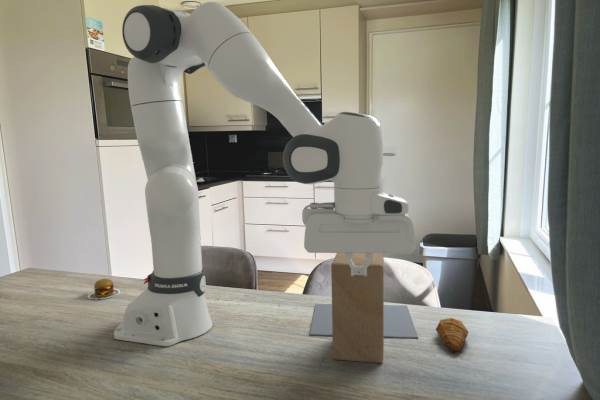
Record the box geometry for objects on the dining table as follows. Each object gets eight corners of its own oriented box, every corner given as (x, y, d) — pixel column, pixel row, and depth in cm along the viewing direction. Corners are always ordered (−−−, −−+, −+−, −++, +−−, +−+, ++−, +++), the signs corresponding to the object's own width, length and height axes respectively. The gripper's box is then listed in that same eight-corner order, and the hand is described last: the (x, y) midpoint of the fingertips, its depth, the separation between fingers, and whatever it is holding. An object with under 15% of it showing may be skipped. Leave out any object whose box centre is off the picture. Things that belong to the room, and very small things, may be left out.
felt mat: (309, 335, 94) (309, 334, 94) (316, 304, 112) (315, 303, 112) (418, 338, 92) (418, 337, 92) (406, 306, 109) (406, 305, 109)
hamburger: (77, 296, 125) (75, 279, 125) (118, 287, 133) (117, 270, 132) (87, 308, 116) (85, 289, 115) (131, 297, 124) (129, 279, 123)
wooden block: (383, 364, 81) (383, 265, 79) (332, 360, 83) (330, 263, 81) (383, 340, 91) (383, 251, 88) (338, 337, 93) (336, 250, 90)
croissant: (434, 325, 98) (434, 305, 97) (464, 328, 96) (465, 307, 96) (437, 353, 85) (437, 330, 85) (472, 357, 83) (473, 333, 83)
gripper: (300, 205, 74) (301, 279, 76) (417, 204, 72) (416, 281, 74) (303, 200, 80) (305, 269, 82) (412, 199, 78) (411, 270, 80)
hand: (358, 275), depth 78 cm, fingers closed
